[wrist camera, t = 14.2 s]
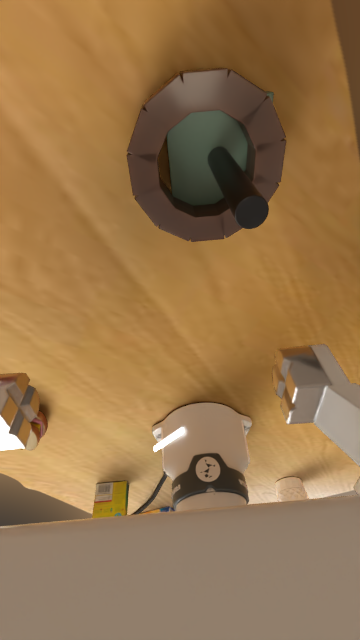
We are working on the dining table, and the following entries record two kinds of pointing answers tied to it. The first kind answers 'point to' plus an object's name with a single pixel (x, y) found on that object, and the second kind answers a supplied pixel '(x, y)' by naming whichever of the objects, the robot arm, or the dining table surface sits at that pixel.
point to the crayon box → (111, 499)
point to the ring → (171, 108)
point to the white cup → (290, 489)
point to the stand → (214, 166)
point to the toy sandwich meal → (36, 431)
